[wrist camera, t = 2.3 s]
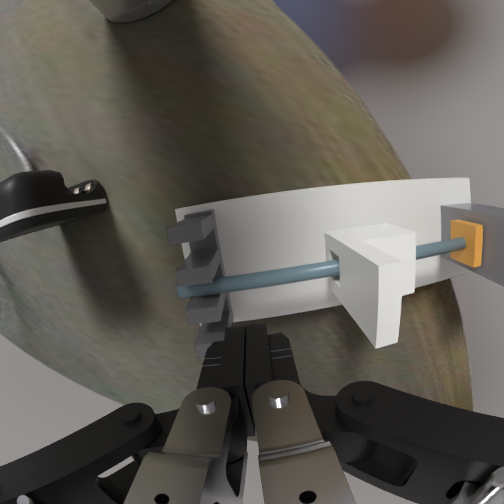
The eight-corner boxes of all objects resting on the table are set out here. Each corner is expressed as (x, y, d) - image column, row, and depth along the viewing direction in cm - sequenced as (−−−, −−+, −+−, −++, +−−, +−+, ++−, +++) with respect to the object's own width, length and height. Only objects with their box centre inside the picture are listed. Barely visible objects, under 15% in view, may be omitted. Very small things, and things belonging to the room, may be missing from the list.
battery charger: (104, 168, 21) (14, 163, 10) (111, 209, 22) (22, 230, 11) (51, 189, 21) (-34, 198, 10) (57, 225, 22) (-27, 251, 11)
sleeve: (323, 232, 18) (378, 265, 10) (386, 223, 18) (462, 247, 10) (328, 286, 19) (375, 348, 11) (387, 274, 19) (454, 322, 11)
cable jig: (179, 208, 22) (125, 225, 12) (460, 177, 21) (534, 182, 11) (202, 318, 24) (177, 396, 14) (460, 268, 23) (525, 301, 13)
